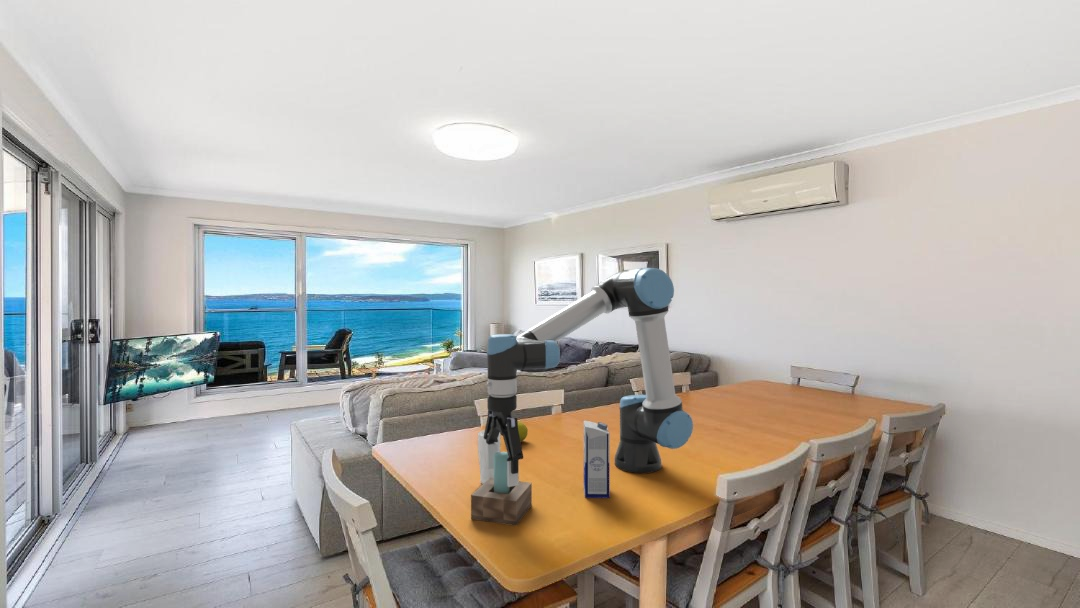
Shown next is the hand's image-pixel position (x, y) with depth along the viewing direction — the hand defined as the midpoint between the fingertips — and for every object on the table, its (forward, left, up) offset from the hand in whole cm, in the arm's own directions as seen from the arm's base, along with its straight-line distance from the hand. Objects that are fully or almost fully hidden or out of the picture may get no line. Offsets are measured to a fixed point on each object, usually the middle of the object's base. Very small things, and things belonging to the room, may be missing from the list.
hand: (502, 476), depth 123 cm
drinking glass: (+11, -17, -9) cm, 22 cm away
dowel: (0, 0, -8) cm, 8 cm away
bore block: (0, 0, -9) cm, 9 cm away
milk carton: (-21, -19, -9) cm, 30 cm away
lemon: (+17, -56, -9) cm, 59 cm away
